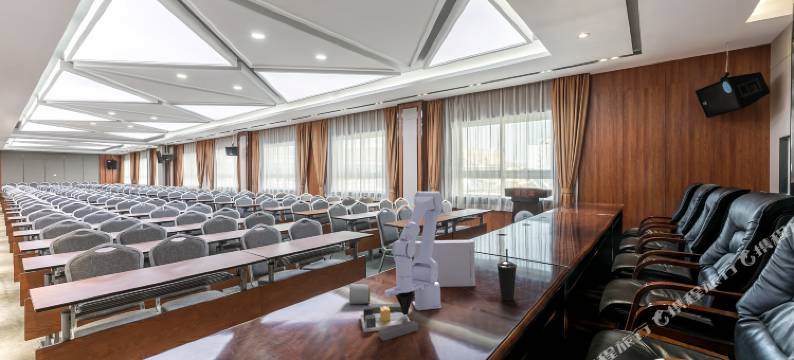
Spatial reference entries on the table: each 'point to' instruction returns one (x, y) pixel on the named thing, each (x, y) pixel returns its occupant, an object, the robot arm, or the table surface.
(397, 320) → the panel
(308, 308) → the table surface
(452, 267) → the game console
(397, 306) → the duct
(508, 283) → the drinking cup
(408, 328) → the duct
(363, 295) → the gray rounded block
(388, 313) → the orange l block
